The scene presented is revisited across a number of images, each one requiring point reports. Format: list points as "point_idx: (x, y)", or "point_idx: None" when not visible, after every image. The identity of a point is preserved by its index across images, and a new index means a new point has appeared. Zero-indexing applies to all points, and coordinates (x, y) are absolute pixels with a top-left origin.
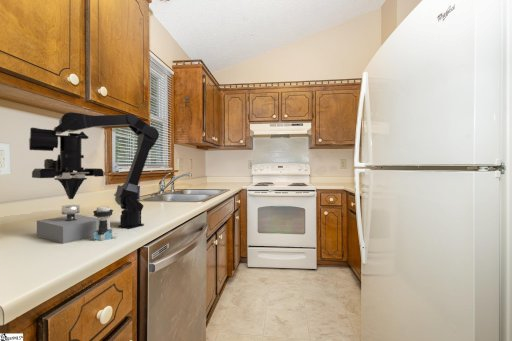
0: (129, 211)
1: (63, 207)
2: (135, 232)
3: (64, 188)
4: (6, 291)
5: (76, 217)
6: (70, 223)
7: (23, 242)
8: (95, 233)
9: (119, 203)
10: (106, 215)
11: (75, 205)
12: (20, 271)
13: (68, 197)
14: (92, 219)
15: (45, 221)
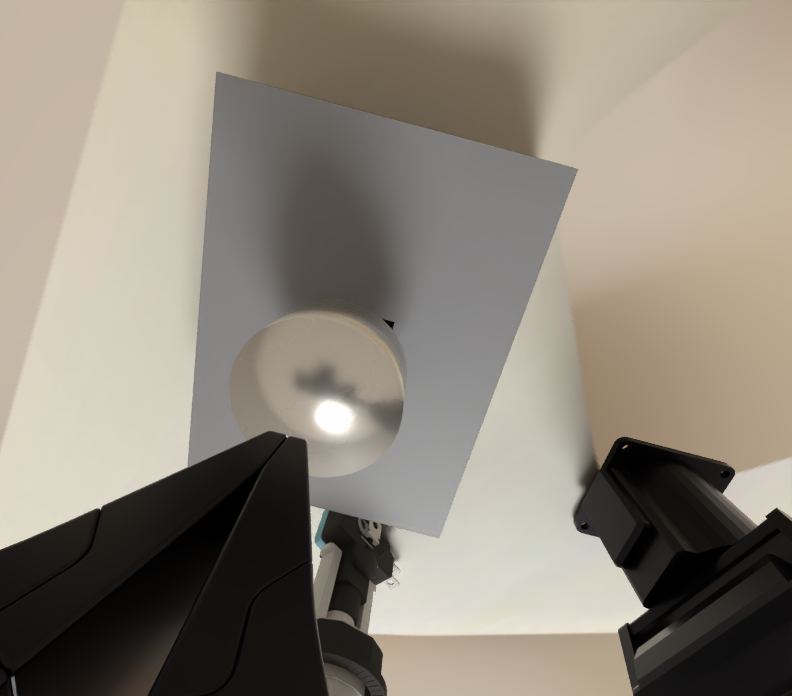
0: (622, 635)
1: (233, 392)
2: (506, 582)
3: (68, 536)
4: None
5: (446, 301)
6: None
7: (160, 197)
8: (319, 539)
9: (682, 635)
10: None
11: (353, 428)
12: (15, 533)
13: (252, 446)
14: (414, 477)
15: (230, 199)
